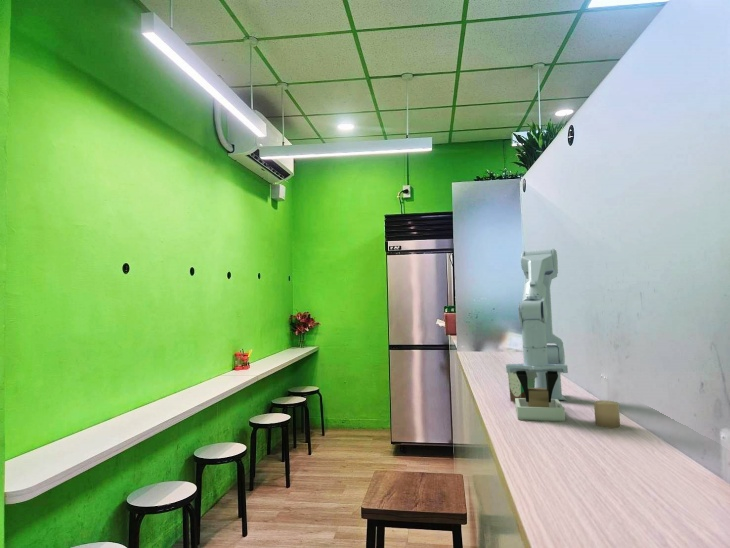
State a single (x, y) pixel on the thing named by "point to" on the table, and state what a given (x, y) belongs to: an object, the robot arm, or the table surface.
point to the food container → (516, 386)
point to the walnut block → (538, 397)
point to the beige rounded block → (607, 414)
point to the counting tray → (539, 411)
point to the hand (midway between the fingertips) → (538, 401)
